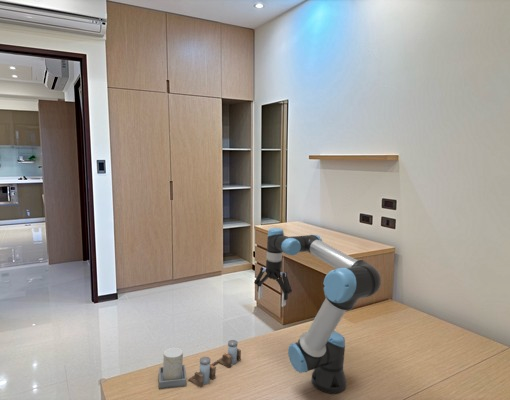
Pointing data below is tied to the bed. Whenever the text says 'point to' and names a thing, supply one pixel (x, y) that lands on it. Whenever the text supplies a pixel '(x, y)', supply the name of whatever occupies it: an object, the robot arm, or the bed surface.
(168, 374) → the light grey canister
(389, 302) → the bed surface
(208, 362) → the grey rounded cylinder
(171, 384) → the tray
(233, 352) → the fuse
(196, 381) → the clip rack
